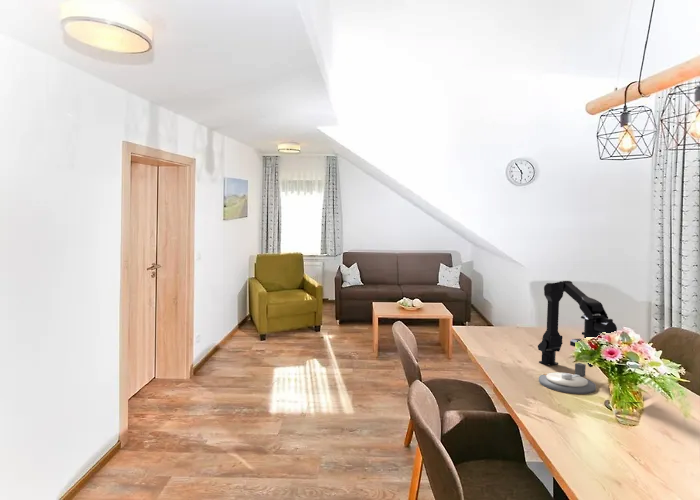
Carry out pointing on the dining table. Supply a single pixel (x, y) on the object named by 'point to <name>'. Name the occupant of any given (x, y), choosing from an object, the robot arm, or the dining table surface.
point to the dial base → (575, 390)
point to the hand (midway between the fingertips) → (590, 366)
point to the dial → (570, 377)
